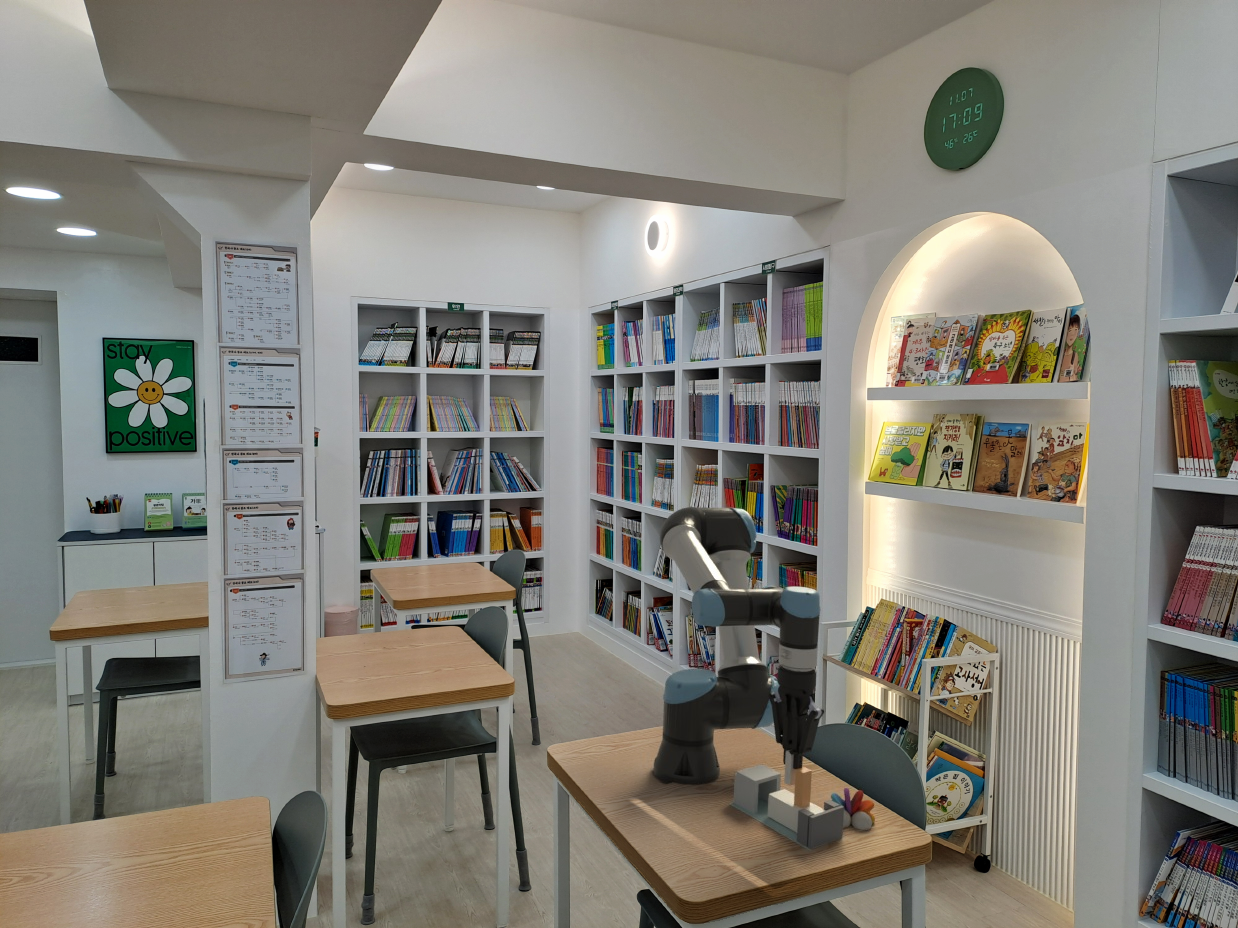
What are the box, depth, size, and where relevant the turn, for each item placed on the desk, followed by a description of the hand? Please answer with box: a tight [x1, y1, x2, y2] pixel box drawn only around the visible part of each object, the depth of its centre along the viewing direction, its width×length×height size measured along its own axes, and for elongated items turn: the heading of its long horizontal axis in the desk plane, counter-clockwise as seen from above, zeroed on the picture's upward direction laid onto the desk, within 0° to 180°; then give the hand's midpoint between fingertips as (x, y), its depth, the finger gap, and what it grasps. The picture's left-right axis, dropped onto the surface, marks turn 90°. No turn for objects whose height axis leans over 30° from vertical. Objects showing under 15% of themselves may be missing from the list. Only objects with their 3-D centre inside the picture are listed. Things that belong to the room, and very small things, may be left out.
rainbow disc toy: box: [830, 787, 876, 831], centre depth 168 cm, size 8×10×7 cm
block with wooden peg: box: [768, 766, 826, 833], centre depth 164 cm, size 12×5×12 cm, turn 35°
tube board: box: [728, 763, 845, 851], centre depth 167 cm, size 22×10×8 cm, turn 35°
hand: (791, 782), depth 165 cm, fingers closed
